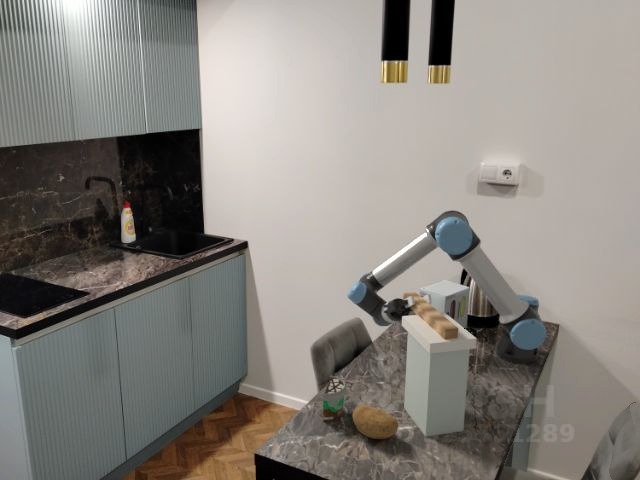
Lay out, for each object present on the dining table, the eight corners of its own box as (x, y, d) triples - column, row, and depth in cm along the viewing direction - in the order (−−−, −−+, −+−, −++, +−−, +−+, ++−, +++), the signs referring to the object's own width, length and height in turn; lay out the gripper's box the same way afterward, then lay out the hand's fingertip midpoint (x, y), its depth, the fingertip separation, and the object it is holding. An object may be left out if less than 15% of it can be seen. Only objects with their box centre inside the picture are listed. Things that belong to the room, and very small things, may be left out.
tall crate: (398, 404, 189) (402, 316, 181) (438, 398, 192) (444, 312, 184) (424, 440, 170) (430, 343, 162) (468, 433, 174) (476, 338, 166)
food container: (342, 426, 177) (343, 396, 174) (322, 424, 178) (322, 394, 175) (349, 405, 188) (349, 376, 186) (330, 403, 189) (330, 374, 187)
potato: (387, 452, 164) (388, 427, 162) (345, 435, 172) (345, 410, 170) (404, 436, 172) (406, 411, 170) (363, 420, 180) (364, 396, 178)
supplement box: (442, 339, 236) (445, 296, 232) (416, 329, 246) (418, 288, 241) (467, 327, 248) (471, 286, 243) (441, 318, 257) (444, 278, 252)
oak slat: (402, 301, 193) (403, 292, 192) (414, 300, 194) (414, 291, 193) (444, 339, 165) (445, 329, 164) (457, 338, 166) (458, 328, 165)
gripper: (421, 319, 207) (450, 308, 185) (372, 324, 202) (396, 314, 180) (417, 297, 208) (446, 285, 187) (369, 302, 204) (392, 289, 182)
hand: (421, 299), depth 183 cm, fingers open, 5 cm apart
